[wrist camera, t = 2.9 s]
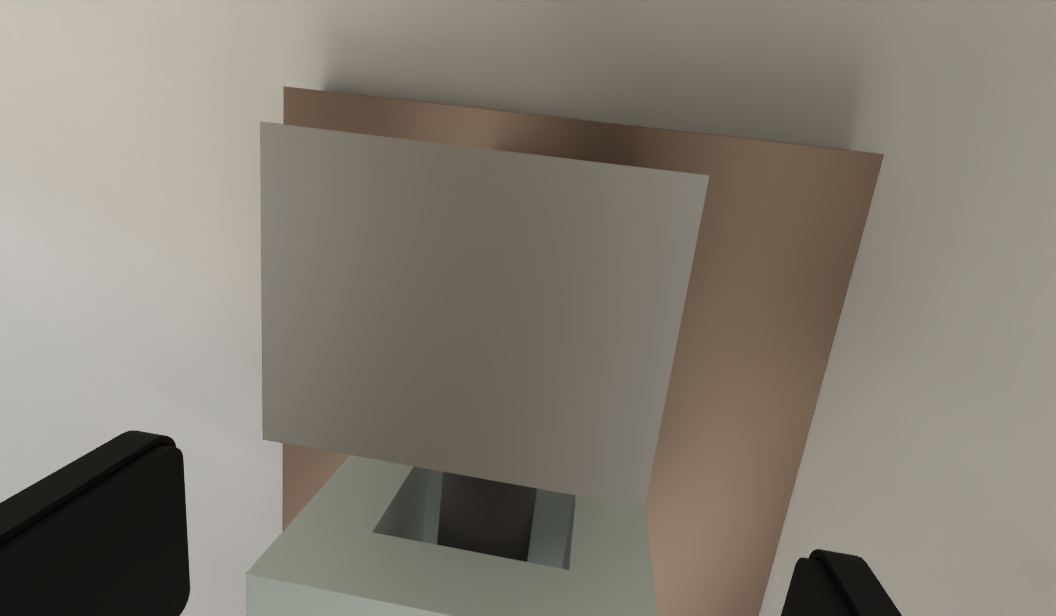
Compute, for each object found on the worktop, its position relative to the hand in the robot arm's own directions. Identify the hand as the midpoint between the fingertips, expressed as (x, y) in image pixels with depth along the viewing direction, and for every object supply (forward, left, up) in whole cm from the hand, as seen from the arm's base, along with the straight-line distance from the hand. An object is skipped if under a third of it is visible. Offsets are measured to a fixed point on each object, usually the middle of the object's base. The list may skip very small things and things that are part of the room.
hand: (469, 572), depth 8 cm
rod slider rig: (0, +7, -6) cm, 9 cm away
